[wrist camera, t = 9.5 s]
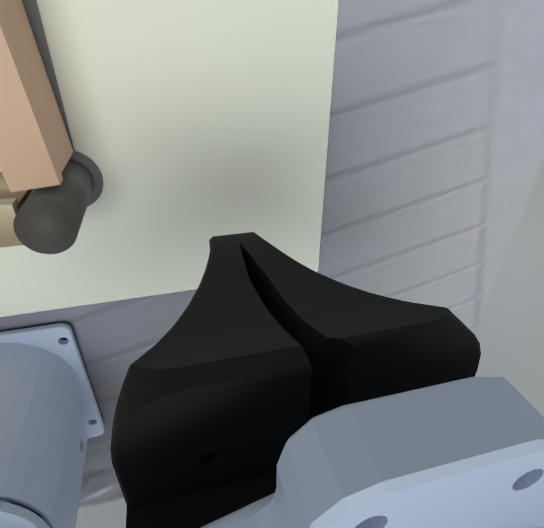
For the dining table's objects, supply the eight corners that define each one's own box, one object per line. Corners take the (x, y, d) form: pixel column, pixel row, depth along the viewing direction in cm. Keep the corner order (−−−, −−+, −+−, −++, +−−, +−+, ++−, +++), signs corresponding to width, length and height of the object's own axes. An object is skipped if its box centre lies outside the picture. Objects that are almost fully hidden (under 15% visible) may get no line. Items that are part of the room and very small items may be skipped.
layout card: (316, 269, 25) (318, 272, 25) (-96, 327, 20) (-100, 332, 20) (349, -198, 14) (354, -203, 14) (-490, -308, 10) (-512, -319, 9)
